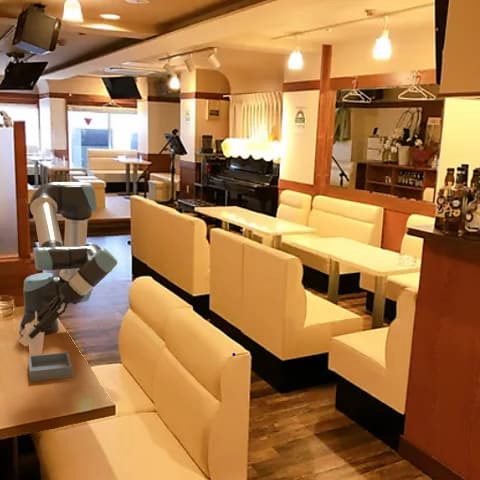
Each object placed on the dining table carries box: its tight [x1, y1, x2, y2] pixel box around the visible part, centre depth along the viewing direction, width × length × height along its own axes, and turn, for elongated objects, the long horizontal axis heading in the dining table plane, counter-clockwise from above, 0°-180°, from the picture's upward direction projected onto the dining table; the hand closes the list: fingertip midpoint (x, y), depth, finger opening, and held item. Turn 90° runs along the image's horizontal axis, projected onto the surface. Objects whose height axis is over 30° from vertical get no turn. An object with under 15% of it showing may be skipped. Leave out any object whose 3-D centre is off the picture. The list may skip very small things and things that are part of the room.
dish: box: [27, 351, 73, 382], centre depth 198 cm, size 14×14×4 cm
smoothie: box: [25, 311, 45, 356], centre depth 181 cm, size 6×6×14 cm
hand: (23, 339), depth 180 cm, fingers closed on smoothie, 6 cm apart
